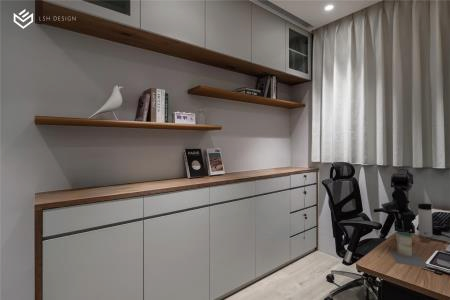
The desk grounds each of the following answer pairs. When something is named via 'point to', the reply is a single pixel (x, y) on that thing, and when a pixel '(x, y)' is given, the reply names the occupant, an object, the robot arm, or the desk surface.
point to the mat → (408, 259)
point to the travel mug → (425, 220)
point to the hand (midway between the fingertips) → (401, 227)
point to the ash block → (404, 243)
